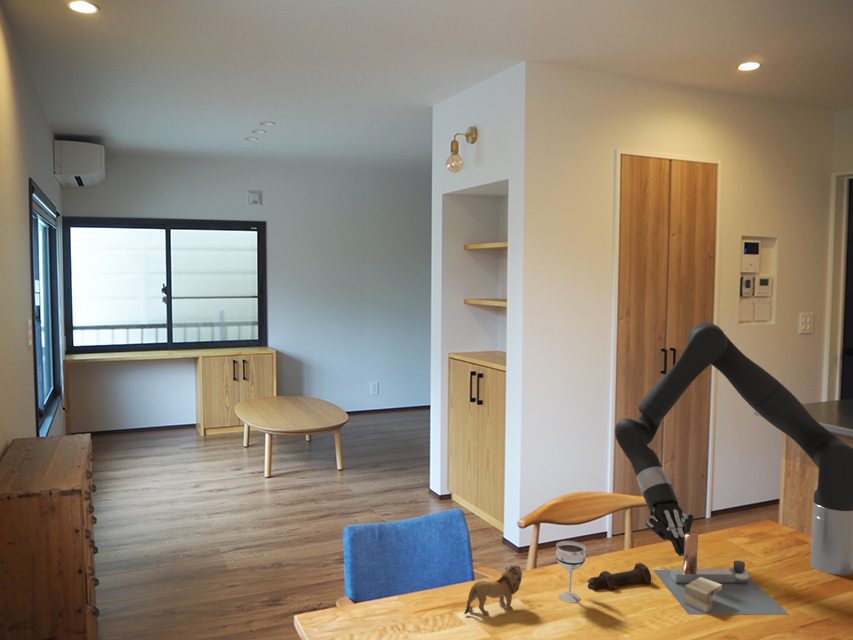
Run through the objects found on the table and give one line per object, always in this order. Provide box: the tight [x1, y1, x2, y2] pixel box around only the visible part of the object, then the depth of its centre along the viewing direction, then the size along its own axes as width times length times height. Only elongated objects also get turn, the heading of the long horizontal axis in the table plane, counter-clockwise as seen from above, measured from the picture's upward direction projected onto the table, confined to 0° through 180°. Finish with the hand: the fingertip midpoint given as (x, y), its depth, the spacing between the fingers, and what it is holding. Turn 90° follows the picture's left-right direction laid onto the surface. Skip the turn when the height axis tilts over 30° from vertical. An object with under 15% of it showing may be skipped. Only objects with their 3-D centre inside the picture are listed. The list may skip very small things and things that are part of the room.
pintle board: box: [653, 560, 790, 616], centre depth 157 cm, size 22×22×6 cm
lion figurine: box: [463, 563, 523, 616], centre depth 150 cm, size 15×5×9 cm, turn 118°
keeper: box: [684, 577, 722, 612], centre depth 151 cm, size 7×5×4 cm
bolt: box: [586, 562, 652, 591], centre depth 160 cm, size 6×5×15 cm
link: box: [670, 531, 750, 584], centre depth 162 cm, size 18×4×11 cm, turn 92°
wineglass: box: [555, 540, 587, 604], centre depth 155 cm, size 7×7×12 cm
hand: (683, 554), depth 164 cm, fingers closed
